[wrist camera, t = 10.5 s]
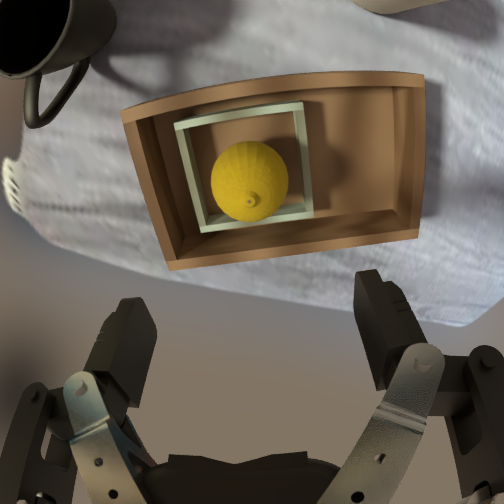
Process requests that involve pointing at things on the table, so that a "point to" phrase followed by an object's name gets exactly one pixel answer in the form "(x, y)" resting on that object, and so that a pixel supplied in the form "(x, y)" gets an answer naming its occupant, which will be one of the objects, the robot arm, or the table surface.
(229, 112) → the caddy
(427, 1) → the can
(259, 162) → the lemon
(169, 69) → the table surface
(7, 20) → the mug
